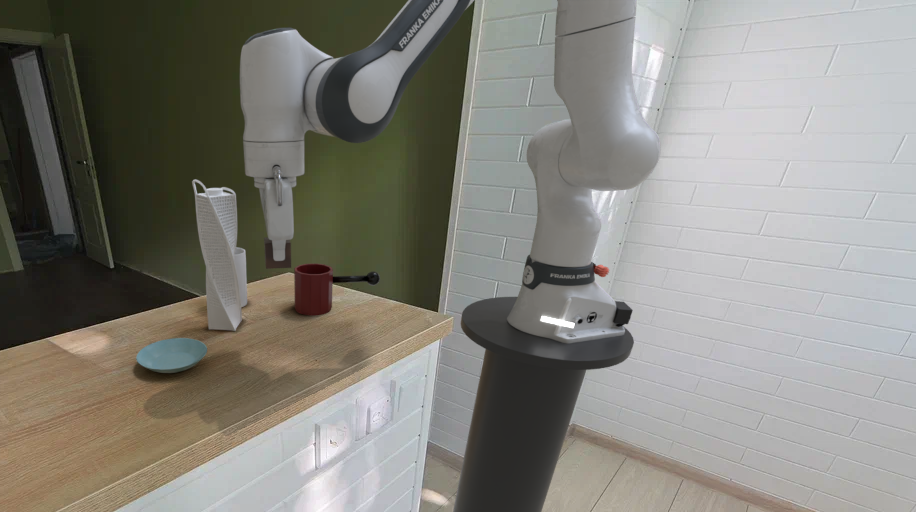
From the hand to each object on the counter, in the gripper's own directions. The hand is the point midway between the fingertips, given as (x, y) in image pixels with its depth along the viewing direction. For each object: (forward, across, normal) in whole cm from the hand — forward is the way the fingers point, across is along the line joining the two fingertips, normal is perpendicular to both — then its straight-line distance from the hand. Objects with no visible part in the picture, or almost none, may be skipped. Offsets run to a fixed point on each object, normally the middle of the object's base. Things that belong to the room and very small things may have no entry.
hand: (277, 254), depth 77 cm
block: (+2, 0, 0) cm, 2 cm away
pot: (+19, +22, -14) cm, 32 cm away
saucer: (+18, -1, +19) cm, 26 cm away
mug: (+19, +25, +10) cm, 33 cm away
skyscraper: (+18, +15, +11) cm, 26 cm away
